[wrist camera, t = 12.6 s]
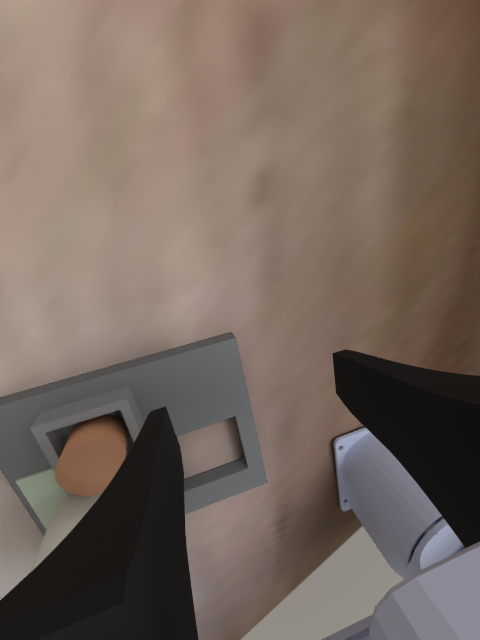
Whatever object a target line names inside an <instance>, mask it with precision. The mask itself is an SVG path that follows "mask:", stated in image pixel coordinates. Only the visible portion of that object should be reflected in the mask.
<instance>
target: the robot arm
mask: <svg viewBox="0 0 480 640" xmlns="http://www.w3.org/2000/svg"><path fill="white" fill-rule="evenodd" d="M333 363H334V374H335V385H336V394H337V395H338V396H339V398H340V399H341V400H342V402H343V403H344V404H345V406H346V407H347V408H348V410H349V411H350V412H351V413H352V414H353V415H354V416H355V417H356V418H357V419H358V420H359V421H360V422H361V423H362V424H363V425H364V426H365V427H364V428H362V429H359V430H356V431H354V432H351V433H348V434H346V435H343V436H340V437H337V438H336V439H335V440H334V443H333V444H334V453H335V463H336V473H337V482H338V492H339V502H340V508H341V509H342V511H347V510H350V509H352V510H353V512H354V513H355V515H356V516H357V518H358V519H359V521H360V522H361V524H362V525H363V527H364V528H365V530H366V531H367V532H368V534H369V535H370V537H371V538H372V540H373V541H374V543H375V544H376V546H377V547H378V549H379V550H380V552H381V553H382V555H383V556H384V558H385V559H386V561H387V562H388V564H389V565H390V566H391V568H392V569H393V570H394V571H395V572H396V573H397V574H398V575H400V576H401V577H402V578H404V580H403V581H401V582H400V583H398V584H397V585H395V586H394V587H392V588H391V589H390V590H389V591H388V592H387V593H386V595H385V596H384V597H383V598H382V599H381V600H380V602H379V603H378V604H377V605H376V607H375V609H374V613H373V615H371V616H369V617H367V618H365V619H363V620H361V621H358V622H356V623H355V624H352V625H350V626H348V627H346V628H344V629H342V630H340V631H338V632H336V633H334V634H332V635H330V636H329V637H326V638H324V639H322V640H480V376H473V375H463V374H455V373H448V372H442V371H435V370H429V369H424V368H419V367H415V366H410V365H406V364H401V363H397V362H393V361H389V360H386V359H382V358H378V357H374V356H371V355H367V354H363V353H359V352H355V351H351V350H342V351H339V352H336V353H333ZM0 640H198V634H197V626H196V619H195V612H194V604H193V597H192V589H191V581H190V573H189V565H188V556H187V548H186V535H185V503H184V471H183V464H182V457H181V451H180V446H179V443H178V440H177V437H176V434H175V431H174V428H173V425H172V422H171V420H170V417H169V414H168V411H167V408H166V406H165V407H162V408H159V409H156V410H153V411H150V413H149V414H148V416H147V418H146V420H145V422H144V424H143V426H142V428H141V430H140V432H139V434H138V436H137V438H136V440H135V442H134V444H133V446H132V447H131V449H130V451H129V453H128V455H127V456H126V458H125V460H124V461H123V463H122V465H121V466H120V468H119V469H118V471H117V473H116V474H115V476H114V477H113V479H112V480H111V482H110V483H109V485H108V486H107V487H106V489H105V490H104V491H103V493H102V494H101V496H100V497H99V498H98V499H97V501H96V502H95V503H94V504H93V506H92V507H91V508H90V509H89V510H88V512H87V513H86V514H85V515H84V516H83V518H82V519H81V520H80V521H79V522H78V524H77V525H76V526H75V527H74V528H73V529H72V530H71V532H70V533H69V534H68V535H67V536H66V537H65V538H64V539H63V540H62V541H61V542H60V543H59V545H58V546H57V547H56V548H55V549H54V550H53V551H52V552H51V553H50V554H49V555H48V556H47V557H46V558H45V559H44V560H43V561H42V562H41V563H40V564H39V565H38V566H37V567H36V568H35V569H34V570H33V571H32V572H30V573H29V574H28V575H27V576H26V577H25V578H24V579H23V580H22V581H21V582H20V583H19V584H18V585H16V586H15V587H14V588H13V589H12V590H11V591H10V592H9V593H8V594H7V595H6V596H5V597H4V598H3V599H1V600H0Z"/></svg>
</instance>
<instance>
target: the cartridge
mask: <svg viewBox="0 0 480 640" xmlns="http://www.w3.org/2000/svg"><path fill="white" fill-rule="evenodd" d="M101 494H102V493H101ZM101 494H98V495H94V496H78V495H74V494H71V495H69V496H68V495H67V493H66V491H65V490H64V489H63V490H62V492H61V493H60V496H59V498H58V501H57V503H56V506H55V509H54V511H53V514H52V517H51V519H50V522H49V525H48V527H47V530H46V533H45V535H44V538H43V541H42V543H41V546H40V549H39V551H38V554H37V556H36V559H35V562H34V564H33V567H32V570H31V572H32V571H33V570H34V569H35V568H36V567H37V566H38V565H39V564H40V563H41V562H42V561H43V560H44V559H45V558H46V557H47V556H48V555H49V554H50V553H51V552H52V551H53V550H54V549H55V548H56V547H57V546H58V545H59V543H60V542H61V541H62V540H63V539H64V538H65V537H66V536H67V535H68V534H69V533H70V532H71V530H72V529H73V528H74V527H75V526H76V525H77V524H78V522H79V521H80V520H81V519H82V518H83V516H84V515H85V514H86V513H87V512H88V510H89V509H90V508H91V507H92V506H93V504H94V503H95V502H96V501H97V499H98V498H99V497H100V496H101Z"/></svg>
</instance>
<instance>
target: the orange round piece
mask: <svg viewBox="0 0 480 640" xmlns="http://www.w3.org/2000/svg"><path fill="white" fill-rule="evenodd" d="M127 443H128V429H127V427H126V425H125V424H124V422H123V421H122V420H120V419H119V418H117V417H115V416H113V415H109V414H104V415H101V416H98V417H95V418H92V419H88V420H85V421H82V422H79V423H76V424H75V425H74V427H73V428H72V430H71V433H70V435H69V437H68V440H67V442H66V444H65V447H64V449H63V451H62V454H61V456H60V458H59V461H58V463H57V465H56V469H55V478H56V481H57V483H58V484H59V486H60V487H61V488H62V489H64V490H65V491H67V492H68V493H71V494H74V495H78V496H94V495H98V494H101V493H103V491H104V490H105V489H106V487H107V486H108V485H109V483H110V482H111V480H112V479H113V477H114V476H115V474H116V473H117V471H118V469H119V468H120V466H121V465H122V463H123V461H124V460H125V456H126V450H127Z"/></svg>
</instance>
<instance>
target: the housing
mask: <svg viewBox="0 0 480 640" xmlns="http://www.w3.org/2000/svg"><path fill="white" fill-rule="evenodd" d="M165 406H166V408H167V411H168V414H169V417H170V420H171V422H172V425H173V428H174V431H175V434H176V436H178V435H181V434H184V433H187V432H190V431H193V430H196V429H199V428H202V427H205V426H207V425H210V424H213V423H216V422H219V421H222V420H225V419H228V418H231V417H235V421H236V425H237V429H238V433H239V437H240V441H241V445H242V449H243V453H244V457H245V458H242V459H239V460H236V461H234V462H231V463H228V464H225V465H223V466H220V467H217V468H214V469H212V470H209V471H206V472H203V473H201V474H198V475H195V476H192V477H190V478H187V479H184V503H185V514H187V513H189V512H192V511H194V510H197V509H200V508H202V507H205V506H207V505H210V504H213V503H215V502H218V501H220V500H223V499H226V498H228V497H231V496H233V495H236V494H239V493H241V492H244V491H246V490H249V489H252V488H254V487H257V486H260V485H262V484H265V483H267V478H266V474H265V469H264V465H263V460H262V455H261V451H260V446H259V442H258V437H257V433H256V428H255V424H254V419H253V415H252V410H251V405H250V401H249V396H248V392H247V387H246V383H245V378H244V374H243V369H242V365H241V360H240V355H239V351H238V346H237V342H236V338H235V336H234V335H233V333H232V332H230V333H226V334H223V335H219V336H216V337H212V338H209V339H205V340H202V341H198V342H195V343H191V344H188V345H184V346H181V347H177V348H174V349H170V350H167V351H163V352H159V353H156V354H152V355H149V356H145V357H142V358H138V359H135V360H131V361H128V362H124V363H121V364H117V365H114V366H110V367H107V368H103V369H100V370H96V371H93V372H89V373H86V374H82V375H79V376H75V377H72V378H68V379H65V380H61V381H57V382H54V383H50V384H47V385H43V386H40V387H36V388H33V389H29V390H26V391H22V392H19V393H15V394H12V395H8V396H5V397H1V398H0V469H1V471H2V472H3V474H4V475H5V477H6V478H7V480H8V481H9V483H10V485H11V486H12V488H13V489H14V491H15V492H16V494H17V495H18V497H19V498H20V500H21V501H22V503H23V505H24V506H25V508H26V509H27V511H28V512H29V514H30V515H31V517H32V518H33V520H34V522H35V523H36V525H37V526H38V528H39V529H40V531H41V532H42V534H43V535H45V533H46V530H47V527H48V525H49V522H50V519H51V517H52V514H53V511H54V509H55V506H56V503H57V501H58V498H59V496H60V493H61V492H62V490H63V489H62V488H61V487H60V486H59V484H58V483H57V481H56V478H55V469H56V465H57V463H58V461H59V458H60V456H61V454H62V451H63V449H64V447H65V444H66V442H67V440H68V437H69V435H70V433H71V430H72V428H73V427H74V425H75V424H76V423H79V422H82V421H85V420H88V419H92V418H95V417H98V416H101V415H104V414H109V415H113V416H115V417H117V418H119V419H120V420H122V421H123V422H124V424H125V425H126V427H127V429H128V443H127V450H126V456H127V455H128V453H129V451H130V449H131V447H132V446H133V444H134V442H135V440H136V438H137V436H138V434H139V432H140V430H141V428H142V426H143V424H144V422H145V420H146V418H147V416H148V414H149V413H150V411H153V410H156V409H159V408H162V407H165ZM126 456H125V458H126ZM66 493H67V495H68V496H69V495H71V493H68V492H67V491H66Z"/></svg>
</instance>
